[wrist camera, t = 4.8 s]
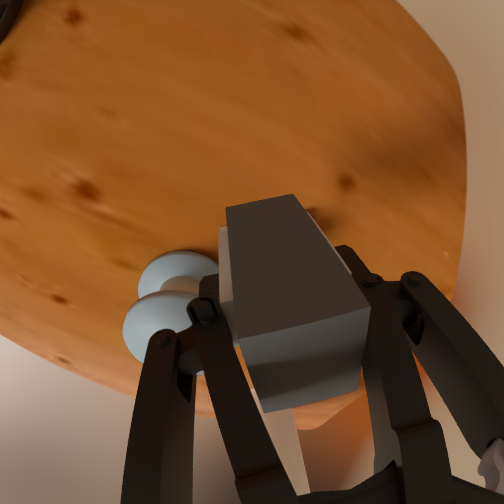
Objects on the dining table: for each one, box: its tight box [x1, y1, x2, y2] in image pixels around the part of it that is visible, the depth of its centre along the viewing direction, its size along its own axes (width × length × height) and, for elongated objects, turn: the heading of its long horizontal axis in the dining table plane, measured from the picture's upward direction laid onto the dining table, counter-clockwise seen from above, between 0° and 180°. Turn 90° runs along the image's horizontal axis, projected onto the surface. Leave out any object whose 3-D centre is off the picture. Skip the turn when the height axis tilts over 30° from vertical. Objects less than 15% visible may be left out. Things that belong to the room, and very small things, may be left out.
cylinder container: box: [250, 388, 310, 496], centre depth 33 cm, size 9×9×30 cm
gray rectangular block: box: [226, 194, 371, 413], centre depth 13 cm, size 5×4×10 cm
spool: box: [123, 250, 235, 376], centre depth 29 cm, size 11×11×8 cm
